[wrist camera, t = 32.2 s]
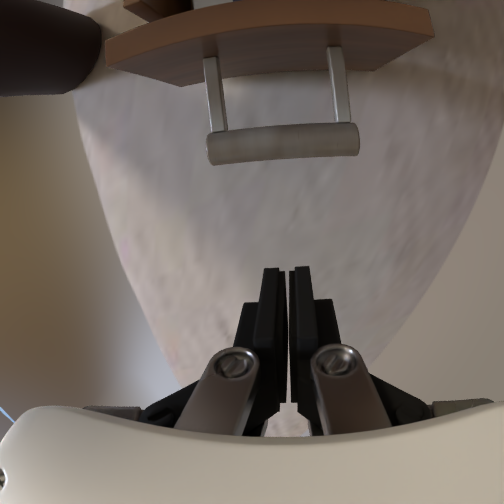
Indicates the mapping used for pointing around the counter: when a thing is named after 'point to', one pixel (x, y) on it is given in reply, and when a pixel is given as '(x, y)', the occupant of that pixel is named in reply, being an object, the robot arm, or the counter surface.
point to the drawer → (268, 60)
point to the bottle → (44, 48)
